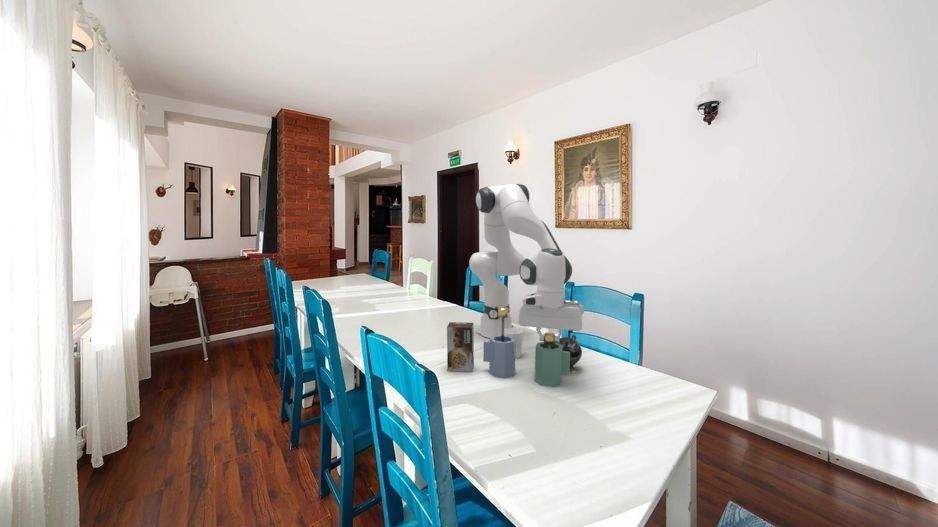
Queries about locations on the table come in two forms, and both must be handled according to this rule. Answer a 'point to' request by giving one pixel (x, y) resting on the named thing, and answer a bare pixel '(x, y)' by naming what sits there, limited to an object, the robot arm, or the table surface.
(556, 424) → the table surface
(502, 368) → the blue pot
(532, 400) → the table surface
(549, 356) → the green mug
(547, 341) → the shiny brass cylinder
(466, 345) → the coffee box
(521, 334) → the white cup
